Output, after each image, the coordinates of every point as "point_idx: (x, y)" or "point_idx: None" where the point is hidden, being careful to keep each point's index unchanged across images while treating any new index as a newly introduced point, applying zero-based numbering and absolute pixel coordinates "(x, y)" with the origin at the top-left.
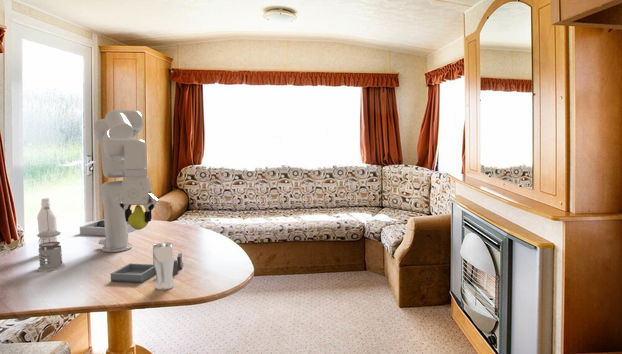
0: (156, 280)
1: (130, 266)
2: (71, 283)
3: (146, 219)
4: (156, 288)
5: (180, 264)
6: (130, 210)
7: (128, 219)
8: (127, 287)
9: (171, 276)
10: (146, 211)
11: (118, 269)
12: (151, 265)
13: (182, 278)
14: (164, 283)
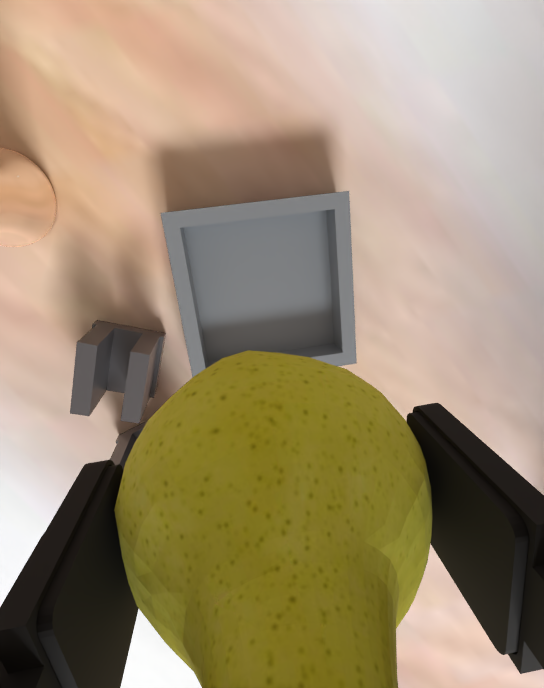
0: (18, 169)
1: (339, 346)
2: (514, 121)
3: (72, 491)
4: (23, 155)
5: (116, 446)
6: (506, 626)
7: (383, 397)
8: (197, 140)
9: None
10: (22, 662)
11: (351, 264)
12: None
13: (16, 331)
14: None
